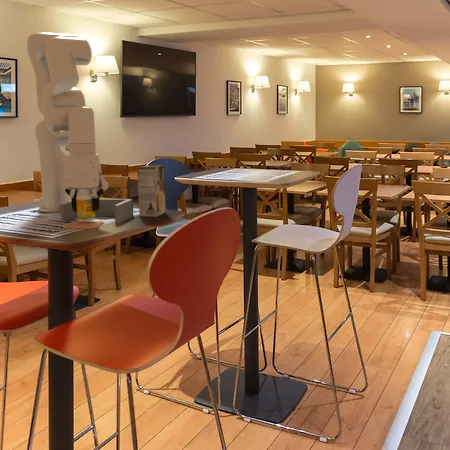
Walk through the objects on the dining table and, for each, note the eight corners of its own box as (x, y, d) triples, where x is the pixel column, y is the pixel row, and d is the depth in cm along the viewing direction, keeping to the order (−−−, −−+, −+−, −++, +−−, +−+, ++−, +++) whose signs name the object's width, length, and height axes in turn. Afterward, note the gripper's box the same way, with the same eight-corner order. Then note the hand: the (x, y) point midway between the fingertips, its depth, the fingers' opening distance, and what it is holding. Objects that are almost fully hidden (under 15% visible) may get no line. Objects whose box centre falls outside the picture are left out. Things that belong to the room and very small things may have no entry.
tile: (63, 228, 170) (63, 226, 170) (75, 223, 178) (75, 221, 178) (93, 228, 168) (93, 226, 168) (103, 223, 177) (103, 221, 177)
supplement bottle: (85, 218, 179) (84, 186, 178) (99, 219, 177) (97, 187, 175) (73, 220, 175) (71, 188, 173) (87, 222, 172) (85, 189, 170)
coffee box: (148, 212, 199) (146, 165, 196) (166, 212, 198) (164, 165, 195) (138, 216, 190) (136, 167, 187) (157, 216, 189) (156, 166, 186)
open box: (61, 222, 180) (60, 205, 179) (79, 215, 194) (78, 198, 193) (119, 223, 177) (118, 205, 176) (133, 215, 192) (132, 199, 191)
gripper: (49, 150, 170) (53, 212, 173) (106, 150, 167) (109, 212, 170) (60, 149, 177) (63, 208, 180) (114, 149, 175) (117, 209, 178)
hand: (85, 210), depth 175 cm, fingers closed on supplement bottle, 5 cm apart
